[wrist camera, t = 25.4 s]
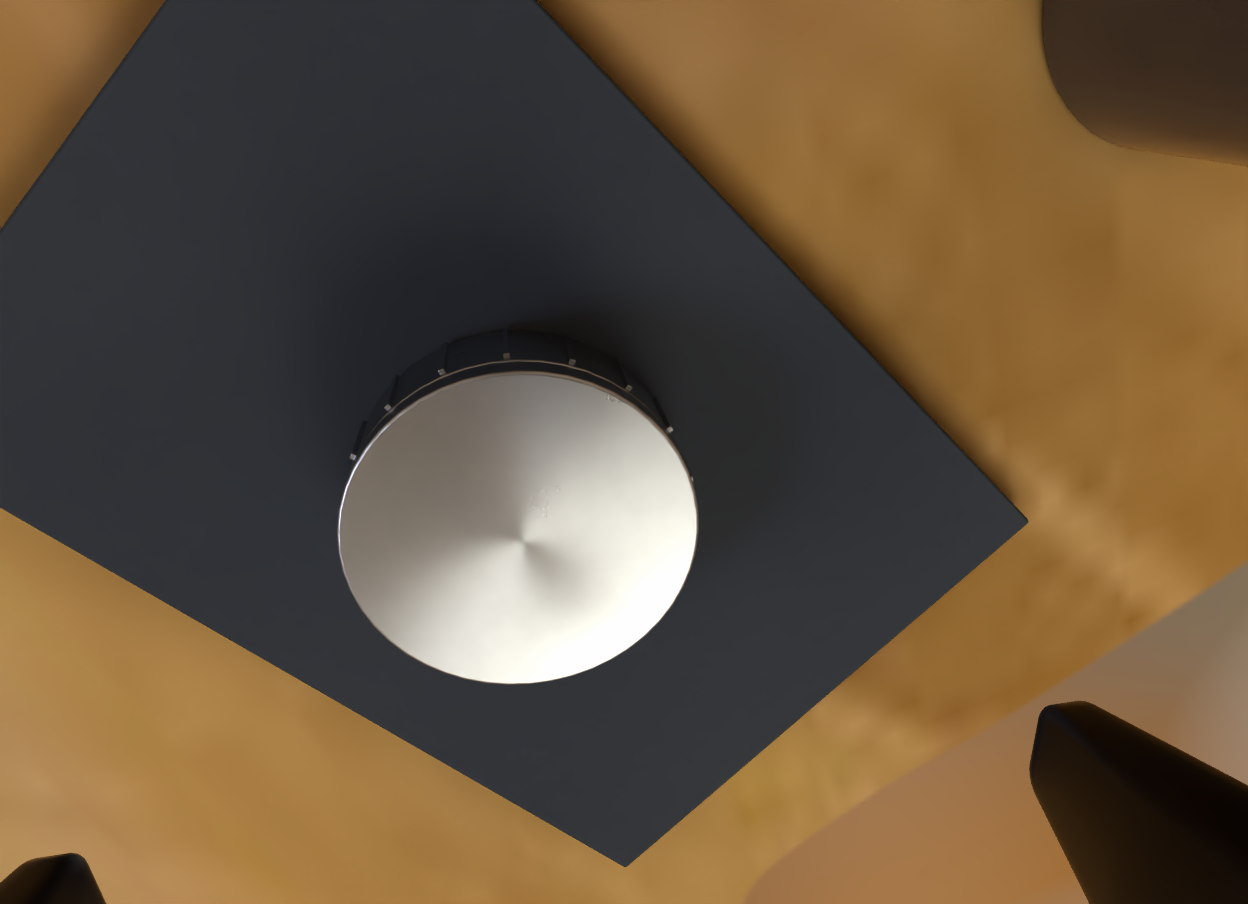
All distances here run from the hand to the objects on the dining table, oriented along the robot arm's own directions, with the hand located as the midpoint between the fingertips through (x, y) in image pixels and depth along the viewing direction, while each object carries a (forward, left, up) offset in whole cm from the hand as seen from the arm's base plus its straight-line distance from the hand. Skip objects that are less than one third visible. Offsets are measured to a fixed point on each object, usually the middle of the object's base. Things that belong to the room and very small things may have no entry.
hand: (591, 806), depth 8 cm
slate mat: (+1, -2, -11) cm, 11 cm away
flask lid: (+1, -2, -9) cm, 9 cm away
